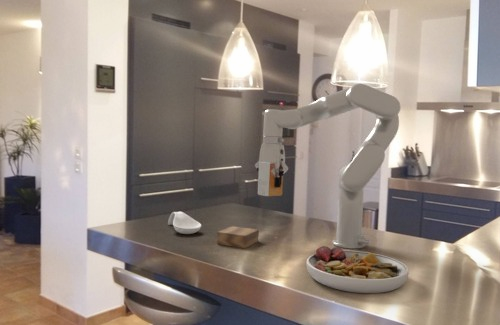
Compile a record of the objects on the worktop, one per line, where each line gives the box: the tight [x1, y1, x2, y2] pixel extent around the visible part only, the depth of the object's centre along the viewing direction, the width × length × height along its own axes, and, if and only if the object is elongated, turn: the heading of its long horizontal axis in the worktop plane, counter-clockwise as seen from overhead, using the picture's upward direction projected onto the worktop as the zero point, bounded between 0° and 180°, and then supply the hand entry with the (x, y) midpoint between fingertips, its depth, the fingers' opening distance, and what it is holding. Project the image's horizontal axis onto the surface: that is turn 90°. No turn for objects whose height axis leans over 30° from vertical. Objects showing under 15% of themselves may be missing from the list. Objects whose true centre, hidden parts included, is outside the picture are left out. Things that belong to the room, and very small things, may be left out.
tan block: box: [216, 225, 260, 249], centre depth 182 cm, size 12×12×5 cm
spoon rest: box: [167, 211, 202, 235], centre depth 201 cm, size 24×12×7 cm, turn 30°
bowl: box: [306, 245, 410, 294], centre depth 142 cm, size 30×30×8 cm
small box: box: [257, 162, 284, 197], centre depth 185 cm, size 8×6×13 cm
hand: (270, 185), depth 185 cm, fingers closed on small box, 6 cm apart
